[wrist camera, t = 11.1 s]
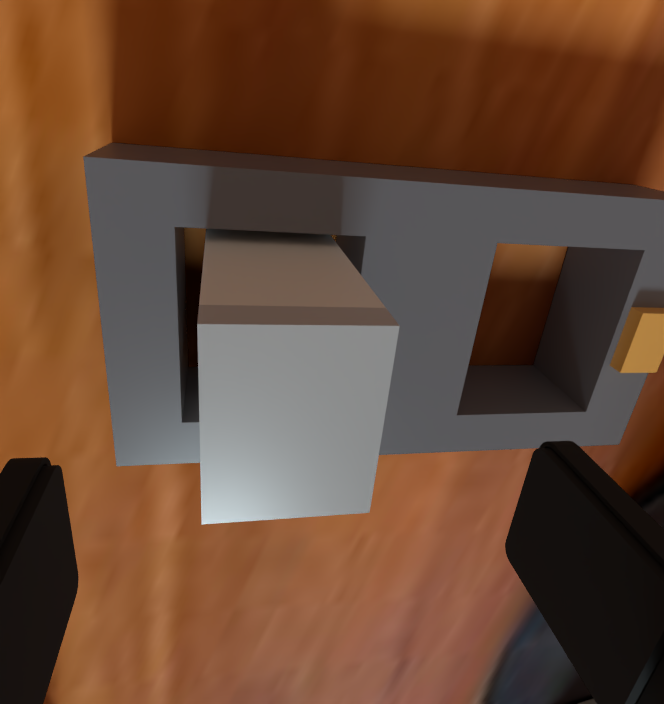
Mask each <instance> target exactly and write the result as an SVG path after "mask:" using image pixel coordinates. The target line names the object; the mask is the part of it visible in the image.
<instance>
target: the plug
mask: <svg viewBox="0 0 664 704" xmlns="http://www.w3.org/2000/svg"><path fill="white" fill-rule="evenodd" d="M399 327H400V326H399V324H398V323H397V322H396V321H395V319H394V318H393V317H392V315H391V314H390V313H389V311H388V310H387V309H386V307H385V306H384V305H383V303H382V302H381V301H380V300H379V298H378V297H377V296H376V294H375V293H374V292H373V290H372V289H371V288H370V286H369V285H368V284H367V282H366V281H365V280H364V279H363V277H362V276H361V275H360V273H359V272H358V271H357V269H356V268H355V267H354V265H353V264H352V263H351V261H350V260H349V259H348V258H347V256H346V255H345V254H344V252H343V251H342V250H341V248H340V247H339V246H338V244H337V243H336V242H335V240H334V239H333V238H332V237H331V235H328V234H308V233H288V232H268V231H248V230H228V229H208V228H206V237H205V248H204V258H203V269H202V279H201V290H200V300H199V311H198V321H197V335H198V380H199V424H200V469H201V513H202V524H214V523H228V522H242V521H257V520H271V519H285V518H299V517H314V516H328V515H342V514H357V513H369V512H370V506H371V499H372V493H373V487H374V481H375V475H376V469H377V462H378V456H379V450H380V444H381V438H382V432H383V425H384V419H385V413H386V407H387V401H388V395H389V388H390V382H391V376H392V370H393V364H394V358H395V352H396V345H397V339H398V333H399Z"/></svg>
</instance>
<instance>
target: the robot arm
mask: <svg viewBox="0 0 664 704" xmlns="http://www.w3.org/2000/svg"><path fill="white" fill-rule="evenodd" d="M505 549H506V554H507V557H508V559H509V561H510V563H511V565H512V566H513V568H514V570H515V571H516V573H517V574H518V576H519V578H520V579H521V581H522V583H523V584H524V586H525V588H526V589H527V591H528V592H529V594H530V596H531V597H532V599H533V601H534V602H535V604H536V605H537V607H538V609H539V610H540V612H541V614H542V615H543V617H544V619H545V620H546V622H547V623H548V625H549V627H550V628H551V630H552V632H553V633H554V635H555V636H556V638H557V640H558V641H559V643H560V645H561V646H562V648H563V649H564V651H565V653H566V654H567V656H568V658H569V659H570V661H571V663H572V664H573V666H574V667H575V669H576V671H577V672H578V674H579V676H580V677H581V679H582V680H583V682H584V684H585V685H586V687H587V689H588V690H589V692H590V694H591V695H592V697H593V698H594V699H590V700H586V701H583V702H580V703H577V704H664V529H663V528H662V527H661V526H659V525H658V524H657V523H656V522H655V521H654V520H653V519H652V518H651V517H650V516H649V515H648V514H647V513H646V512H645V511H644V510H643V509H642V508H641V507H640V506H639V505H638V504H637V503H636V502H635V501H634V500H633V499H632V498H631V497H630V496H629V495H628V494H627V493H626V492H625V491H624V490H623V489H622V488H621V487H620V486H619V485H618V484H617V483H616V482H615V481H614V480H613V479H612V478H611V477H610V476H609V475H608V474H607V473H606V472H605V471H603V470H602V469H601V468H600V467H599V466H598V465H597V464H596V463H595V462H594V461H593V460H592V459H591V458H590V457H589V456H588V455H587V454H586V453H585V452H584V451H583V450H582V449H581V448H580V447H579V446H578V445H577V444H576V443H574V442H573V441H547V442H543V443H542V444H541V445H540V448H539V449H536V450H535V451H534V453H533V455H532V458H531V462H530V465H529V468H528V471H527V475H526V478H525V481H524V484H523V487H522V491H521V494H520V497H519V500H518V504H517V507H516V510H515V513H514V516H513V520H512V523H511V526H510V529H509V533H508V536H507V539H506V543H505ZM77 588H78V569H77V563H76V557H75V550H74V544H73V538H72V531H71V525H70V518H69V512H68V506H67V499H66V493H65V487H64V480H63V474H62V469H61V467H60V466H59V465H53V466H51V463H50V461H49V459H48V458H46V457H45V458H14V459H10V460H9V461H8V462H7V464H6V465H5V467H4V468H3V470H2V472H1V473H0V704H43V702H44V699H45V696H46V692H47V689H48V686H49V683H50V679H51V676H52V673H53V670H54V666H55V663H56V660H57V656H58V653H59V650H60V647H61V643H62V640H63V637H64V634H65V630H66V627H67V624H68V620H69V617H70V614H71V611H72V607H73V604H74V601H75V598H76V594H77Z"/></svg>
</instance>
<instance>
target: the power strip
mask: <svg viewBox="0 0 664 704" xmlns="http://www.w3.org/2000/svg"><path fill="white" fill-rule="evenodd" d="M83 158H84V167H85V176H86V186H87V195H88V204H89V213H90V223H91V232H92V241H93V251H94V260H95V269H96V279H97V288H98V297H99V307H100V316H101V325H102V335H103V344H104V353H105V363H106V372H107V381H108V391H109V400H110V409H111V419H112V428H113V437H114V447H115V456H116V465H117V466H132V465H155V464H178V463H200V424H199V380H198V367H188V344H187V309H186V275H185V241H184V227H188V228H208V229H228V230H248V231H268V232H288V233H308V234H328V235H337V239H336V243H337V244H338V246H339V247H340V248H341V250H342V251H343V252H344V254H345V255H346V256H347V258H348V259H349V260H350V261H351V263H352V264H353V265H354V267H355V268H356V269H357V271H358V272H359V273H360V275H361V276H362V277H363V279H364V280H365V281H366V282H367V284H368V285H369V286H370V288H371V289H372V290H373V292H374V293H375V294H376V296H377V297H378V298H379V300H380V301H381V302H382V303H383V305H384V306H385V307H386V309H387V310H388V311H389V313H390V314H391V315H392V317H393V318H394V319H395V321H396V322H397V323H398V324H399V326H400V327H399V333H398V339H397V345H396V352H395V358H394V364H393V370H392V376H391V382H390V388H389V395H388V401H387V407H386V413H385V419H384V425H383V432H382V438H381V444H380V450H379V455H387V454H410V453H433V452H456V451H479V450H503V449H526V448H540V445H541V444H542V443H543V442H547V441H573V442H574V443H576V444H577V445H578V446H595V445H619V443H620V441H621V438H622V436H623V434H624V431H625V429H626V426H627V424H628V421H629V419H630V416H631V414H632V412H633V409H634V407H635V404H636V402H637V399H638V397H639V395H640V392H641V390H642V387H643V385H644V382H645V380H646V377H647V375H648V373H656V372H657V370H658V367H659V365H660V363H661V360H662V358H663V355H664V192H663V191H659V190H655V189H650V188H646V187H642V186H637V185H629V184H617V183H605V182H592V181H580V180H568V179H555V178H543V177H530V176H518V175H506V174H493V173H481V172H469V171H456V170H444V169H432V168H419V167H407V166H394V165H382V164H370V163H357V162H345V161H333V160H320V159H308V158H295V157H283V156H271V155H258V154H246V153H234V152H221V151H209V150H197V149H184V148H172V147H159V146H147V145H135V144H122V143H110V144H108V145H106V146H104V147H102V148H100V149H98V150H96V151H94V152H92V153H90V154H88V155H86V156H84V157H83ZM497 243H509V244H529V245H549V246H569V247H568V250H567V253H566V257H565V260H564V263H563V267H562V270H561V274H560V277H559V280H558V284H557V287H556V290H555V294H554V297H553V300H552V304H551V307H550V310H549V314H548V317H547V321H546V324H545V327H544V331H543V334H542V337H541V341H540V344H539V347H538V351H537V354H536V358H535V361H534V364H533V365H484V366H468V365H469V361H470V357H471V352H472V348H473V344H474V340H475V335H476V331H477V327H478V323H479V319H480V314H481V310H482V306H483V302H484V297H485V293H486V289H487V285H488V280H489V276H490V272H491V268H492V264H493V259H494V255H495V251H496V247H497Z"/></svg>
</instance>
